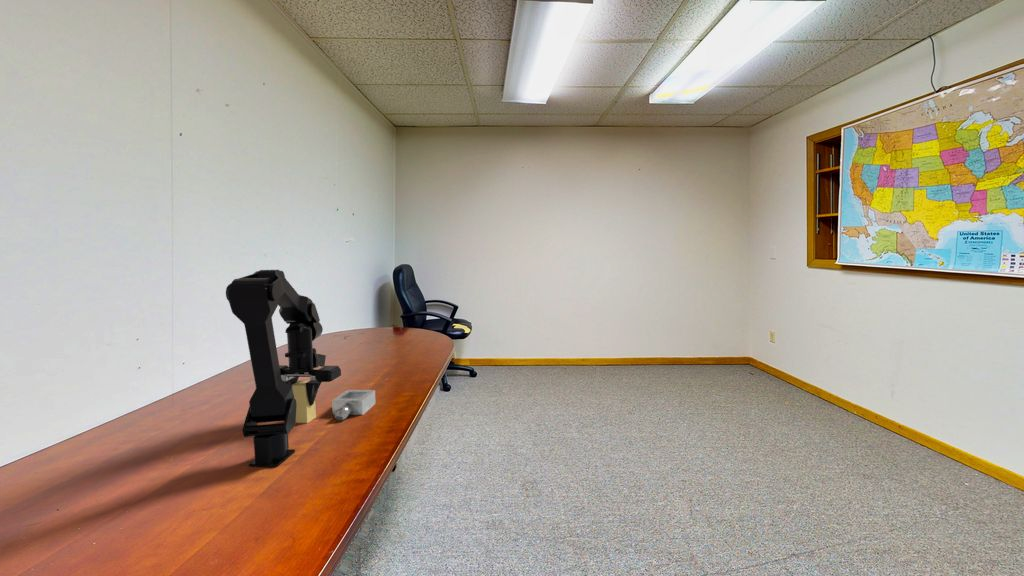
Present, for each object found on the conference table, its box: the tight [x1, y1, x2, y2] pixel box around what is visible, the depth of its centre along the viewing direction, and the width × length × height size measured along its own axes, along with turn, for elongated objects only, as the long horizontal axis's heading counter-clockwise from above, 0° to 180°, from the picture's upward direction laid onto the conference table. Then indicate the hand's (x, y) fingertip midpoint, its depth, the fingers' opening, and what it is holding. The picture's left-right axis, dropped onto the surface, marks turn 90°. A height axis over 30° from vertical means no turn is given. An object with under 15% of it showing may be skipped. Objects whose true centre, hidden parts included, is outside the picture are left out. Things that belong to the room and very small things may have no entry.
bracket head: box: [331, 388, 377, 422], centre depth 114 cm, size 16×8×4 cm, turn 176°
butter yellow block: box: [292, 380, 317, 424], centre depth 106 cm, size 4×4×10 cm
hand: (303, 405), depth 106 cm, fingers closed on butter yellow block, 4 cm apart
